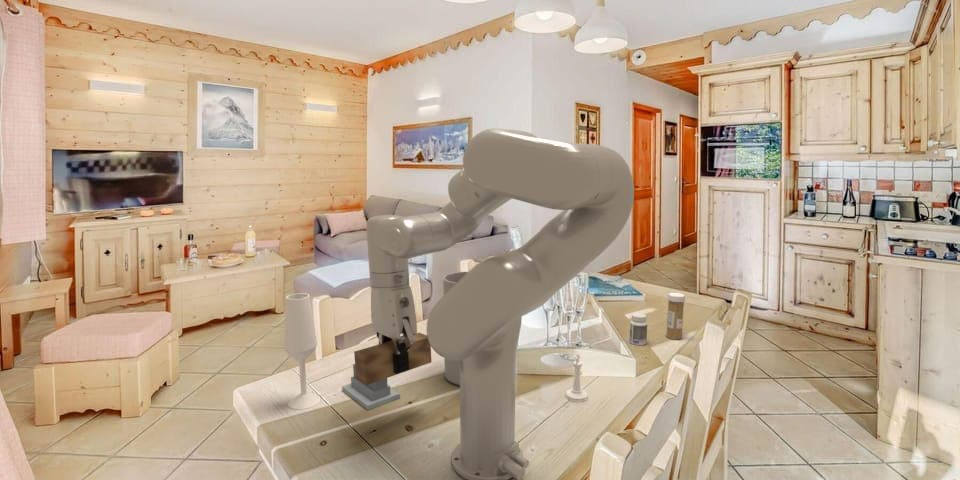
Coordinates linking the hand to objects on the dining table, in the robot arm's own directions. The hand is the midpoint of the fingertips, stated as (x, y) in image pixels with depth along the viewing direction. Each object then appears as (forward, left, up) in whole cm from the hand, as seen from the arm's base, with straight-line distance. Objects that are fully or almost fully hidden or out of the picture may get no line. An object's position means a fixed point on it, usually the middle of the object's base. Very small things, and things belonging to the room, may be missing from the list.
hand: (395, 367), depth 96 cm
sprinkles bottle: (-15, -88, -12) cm, 90 cm away
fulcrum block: (+14, -2, -12) cm, 18 cm away
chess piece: (-18, -36, -12) cm, 42 cm away
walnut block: (0, 0, -1) cm, 1 cm away
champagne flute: (+21, +11, -12) cm, 26 cm away
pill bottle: (-10, -76, -12) cm, 77 cm away
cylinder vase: (+6, -25, -12) cm, 28 cm away
